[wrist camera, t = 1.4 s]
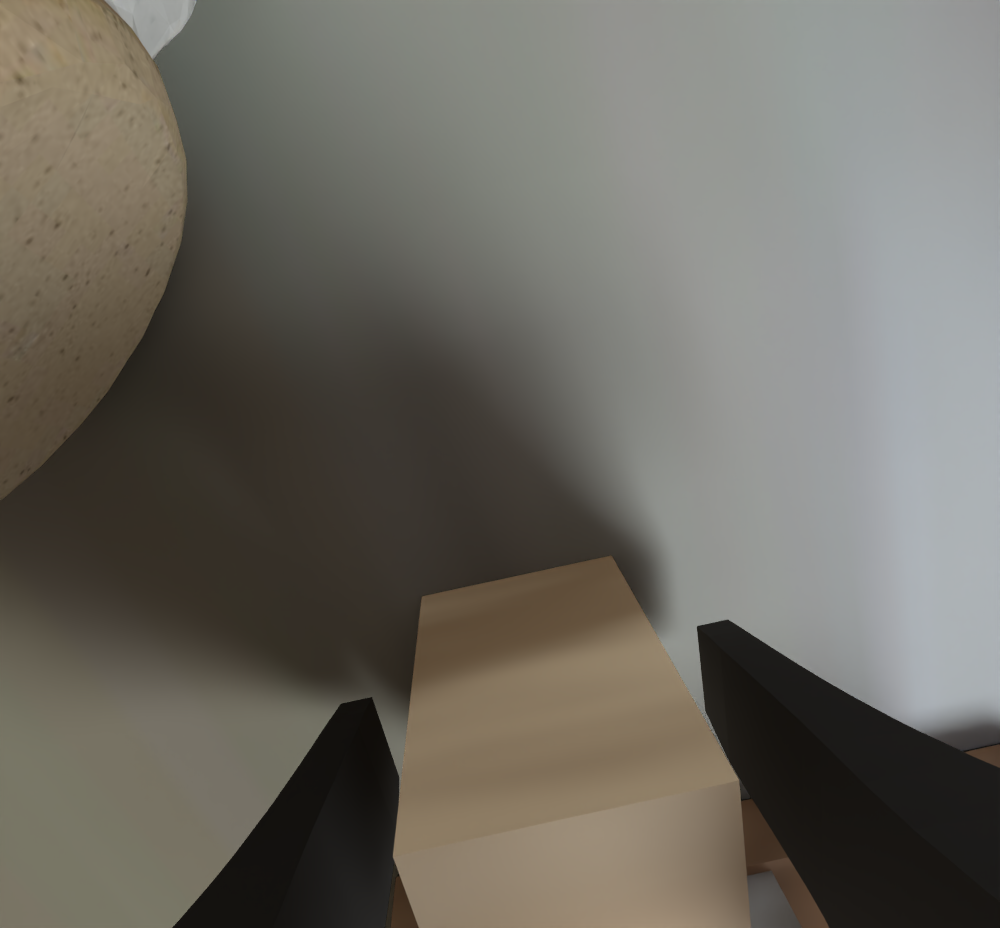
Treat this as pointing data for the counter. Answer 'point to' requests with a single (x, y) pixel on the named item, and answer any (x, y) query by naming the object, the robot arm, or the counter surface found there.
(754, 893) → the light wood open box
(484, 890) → the tan square block
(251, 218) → the counter surface
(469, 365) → the counter surface
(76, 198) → the ceramic mug
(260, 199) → the counter surface
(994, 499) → the counter surface
